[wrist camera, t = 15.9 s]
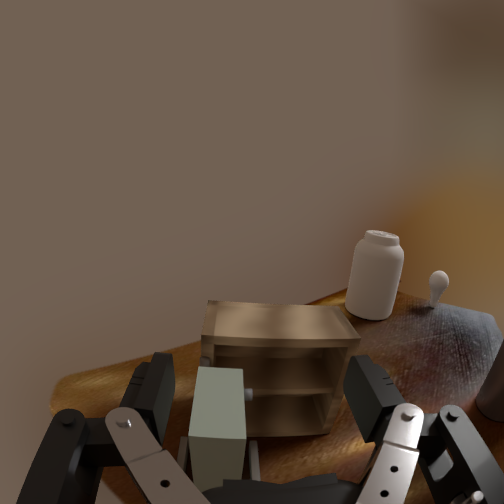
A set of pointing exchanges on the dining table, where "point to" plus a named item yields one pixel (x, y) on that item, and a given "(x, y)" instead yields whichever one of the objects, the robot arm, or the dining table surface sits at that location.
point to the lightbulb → (437, 286)
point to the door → (218, 426)
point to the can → (374, 275)
